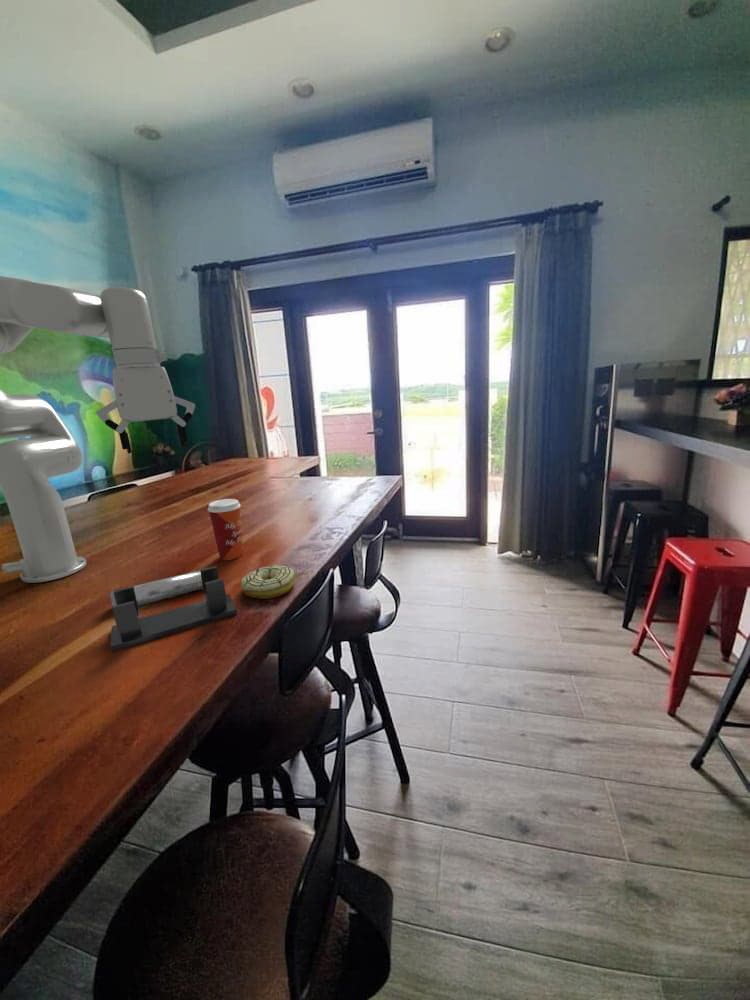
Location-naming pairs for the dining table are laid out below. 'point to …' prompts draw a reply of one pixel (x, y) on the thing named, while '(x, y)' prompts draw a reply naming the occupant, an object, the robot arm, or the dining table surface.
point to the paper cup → (227, 527)
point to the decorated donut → (268, 582)
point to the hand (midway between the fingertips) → (157, 449)
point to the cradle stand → (168, 613)
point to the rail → (165, 588)
